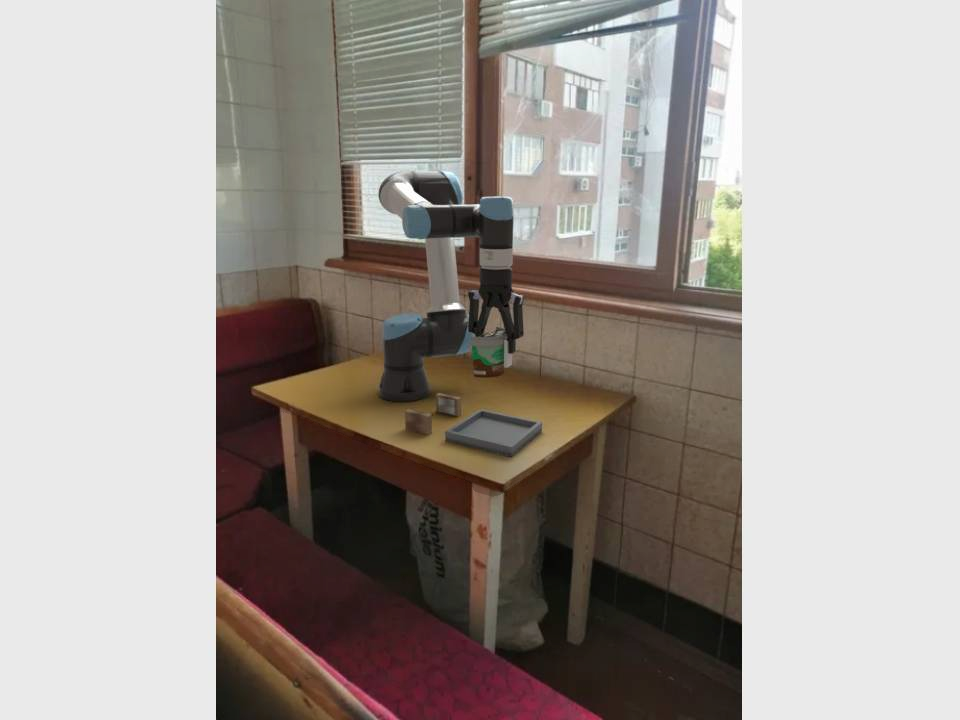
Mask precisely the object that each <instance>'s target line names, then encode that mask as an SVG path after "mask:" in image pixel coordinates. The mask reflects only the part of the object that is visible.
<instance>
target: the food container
mask: <svg viewBox="0 0 960 720" xmlns="http://www.w3.org/2000/svg"><path fill="white" fill-rule="evenodd" d="M506 339H507V335H506V332H505V328H504V327H500V326H496V327H495V330H494V331H491V332H485V333H483V335H482V336H480V337H476V336H474V337H473V336H471V343H470V345H471V355H472V356H471V357H472V369H473V371H472V373H473V377H475V378H482V379H483V378H486V379H487V378H491V379H492V378H497V377H500V376H502V375H504V374H505V370H506V369H505V367H504V340H506Z"/></svg>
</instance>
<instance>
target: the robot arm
mask: <svg viewBox="0 0 960 720" xmlns="http://www.w3.org/2000/svg"><path fill="white" fill-rule="evenodd" d="M377 196H378V199H379V203H380V205H381V206H382V208H384V209H385V210H386V211H387V212H388V213H390V214H392V215H397V216H398V218H400V219H401V222H402V229H403V233H404V236H405V237H406V238H408V239H413V240H414V239H415V240H416V239H417V240H424V241H425V252H426V262H427V264H426V265H427V274H428V285H429V296H430V298H429V299H430V307H429V308H428V310H426V318H425V317H423V315H422V314H421V313H416V312H412V313H411V312H408V313H401V314H396V315H393V316H391V317H389V318H387V319H385V320H384V321H383V324H382V334H381V338H382V351H383V371H382V376H381V379H380V382H379V386H378V392H379V393H378V395H379V396H380V398H382V399H384V400H386V401H391V402H399V403H401V402H412V401H414V402H415V401H419V400H423V399H424V398H426V397H428V396H429V395H430V394H431V384H430V382H429V379H428V376H427V373H426V370H425V364H424V359H425V358H426V359H427V358H438V357H449V356H457V355H461V354H466V353H468V352H469V351H470V350H471V349H472V346H471V345H470V343H471V336H473V337H480V336H482V335H483V334H485V333H486V331H485V330H486V327H487V323H488V321H489V317H490V314H491V310H492V309H493V308H495V309H497V310H498V312H499V314H500V316H501V320H502V323H503V328H504V329H505V332H506V335H507V339H506V340H504V367H505V368H506V369H507V368H509V367H511V366H513V354H514V353H515V352H516V345H517V343H516V341H517V340H518V339H520V338H521V339H522V337H524V334H525V333H524V313H523V310H524V309H523V305H524V304H523V303H524V300H525V296H524V294H520V295H519V294H517V293H515V292H514V290H513V287H512V286H513V285H512V284H513V269H512V267H511V266H513V264H514V263H513V260H514V257H513V256H514V255H513V251H514V249H513V247H514V244H513V243H514V242H513V241H514V217H515V212H514V201H513V198H512V197H510V196H482V197H481V198H480V199H479V203H471V204H463V200H464V197H463V196H464V195H463V189H462V185H461V182H460V180H459V178H458V177H457V175H456V174H455V173H453V172H452V171H443V170H423V171H422V170H421V171H420V170H412V171H411V170H403V171H402V170H401V171H397V172H395V173H393V174H390V175H389V176H387V177H385V179H384V180H383V181H382V182H381V183H380V186H379V189H378V195H377ZM457 238H479V265H480V266H481V267H479V288H478V290H476V289H474V290H470V291H468V293H467V296H468V300H469V305H468V306H469V309H468V314H466V313H467V311H466V308H465V306H463V305H462V304H461V303H460V292H459V280H458V279H459V277H458V270H457V268H458V267H457V258H456V257H457V256H456V247H455V245H456V244H455V239H457ZM480 298H481V299H482V304H481V306H480ZM510 300H511V302H512V303H513V304H512V313H513V315H512V313H511V305H510ZM480 307H481V310H480ZM479 310H480V313H479ZM512 316H513V317H512Z"/></svg>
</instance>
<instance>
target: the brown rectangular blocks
mask: <svg viewBox="0 0 960 720" xmlns="http://www.w3.org/2000/svg"><path fill="white" fill-rule="evenodd" d="M435 402H436V404H435V405H436V407H435V409H436V410H435V411H436V412H437V413H440V414H443V415H444V414H445V415H448V416H452V417H453V416H454V417H460V416H462V397H460V396H455V395H451V394H446V393H441V392H438V393H436V394H435ZM432 419H433V417H432V414H431V413H427V412H423V411H419V410H414V409H411V408H408V409H406V410H405V411H404V422H405V424H404V426H405V430H406V431H410V432H414V433H419V434H421V435H422V434H423V435H426V436H429V435H431V434H433V424H432V423H433V421H432Z"/></svg>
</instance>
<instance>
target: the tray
mask: <svg viewBox="0 0 960 720" xmlns="http://www.w3.org/2000/svg"><path fill="white" fill-rule="evenodd" d="M541 431H542V432H543V421H538V420H535V419H529V418H524V417H521V416H515V415H510V414H506V413H501V412H496V411H493V410H492V411H491V410H487V409H486V410H485V409H482V408H479V409H478V410H477V411H475V412H473V413H471V414H470V415H469V416H467V417H465V418H463V420H460V421H459V422H457V423H456V424H454V425H453V426H451V427H449V428H448V429H447V430H445V431H444V432H445V434H444V435H445V438H444V440H445V442H449V443H453V444H456V445H460V446H465V447H467V448H468V447H469V448H473V449H477V450H480V449H481V450H480V451H484V450H486V451H485V452H488V451H490V452H489V453H492V452H494V453H493V454H496V453H499V454H498V455H500V454H503V455H502V456H504V455H507V456H506V457H508V456H511V457H510V458H513V457H514V456H515V455H516V454H517V453H518V452H519V451H521V450H522V449H523V448H524V447H525V446H527V445H528V444H529V443H530V442H531V441H533V438H534V437H535V436H536V437H537V436H539V435H540V434H541V433H542V432H541ZM540 432H541V433H540ZM536 437H535V438H536ZM535 438H534V439H535ZM530 440H531V441H530ZM529 441H530V442H529ZM528 442H529V443H528ZM527 443H528V444H527ZM526 444H527V445H526ZM524 445H525V446H524ZM523 446H524V447H523ZM522 447H523V448H522ZM521 448H522V449H521ZM520 449H521V450H520ZM517 451H518V452H517ZM515 453H516V454H515ZM514 454H515V455H514ZM513 455H514V456H513Z"/></svg>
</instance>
